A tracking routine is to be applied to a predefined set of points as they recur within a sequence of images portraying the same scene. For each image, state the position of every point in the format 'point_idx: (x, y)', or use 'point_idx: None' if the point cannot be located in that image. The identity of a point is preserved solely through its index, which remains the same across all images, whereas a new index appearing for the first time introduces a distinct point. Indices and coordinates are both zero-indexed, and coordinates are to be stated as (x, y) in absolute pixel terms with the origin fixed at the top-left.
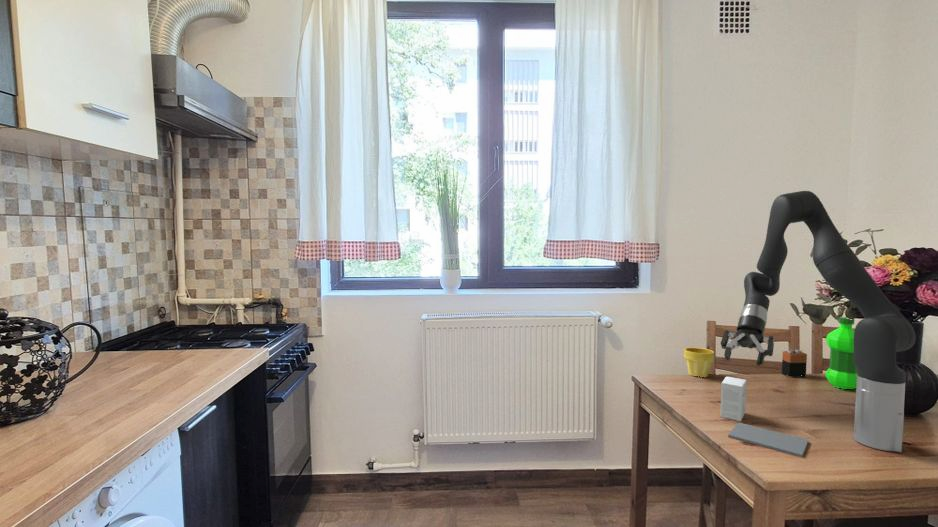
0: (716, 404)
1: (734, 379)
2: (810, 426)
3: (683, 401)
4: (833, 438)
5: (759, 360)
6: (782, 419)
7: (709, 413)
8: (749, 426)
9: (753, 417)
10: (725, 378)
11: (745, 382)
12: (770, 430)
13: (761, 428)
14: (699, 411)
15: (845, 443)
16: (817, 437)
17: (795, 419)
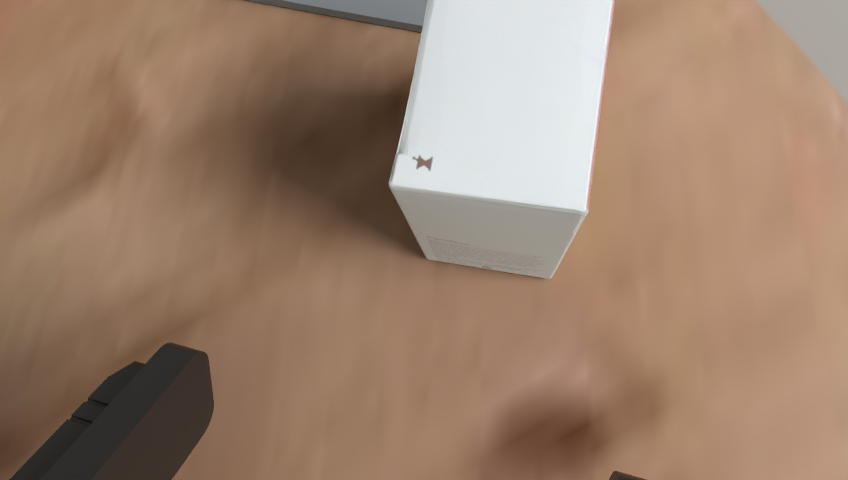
0: (609, 353)
1: (502, 126)
2: (95, 224)
3: (845, 296)
4: (36, 101)
5: (148, 366)
6: (221, 264)
7: (640, 137)
8: (416, 4)
9: (382, 208)
10: (590, 121)
11: (402, 130)
12: (315, 4)
13: (357, 9)
14: (704, 140)
15: (4, 64)
16: (107, 73)
17: (147, 306)
